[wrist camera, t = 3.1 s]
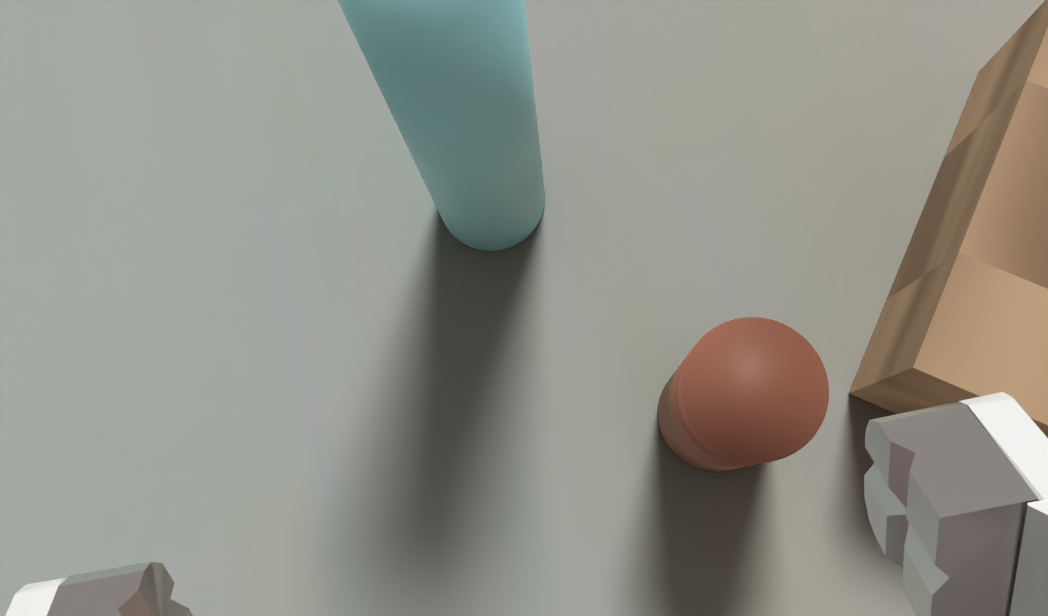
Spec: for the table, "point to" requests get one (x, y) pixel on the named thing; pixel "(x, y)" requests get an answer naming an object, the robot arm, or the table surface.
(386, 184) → the table surface
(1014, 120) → the hole block
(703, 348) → the short pin
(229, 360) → the table surface
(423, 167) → the long pin
